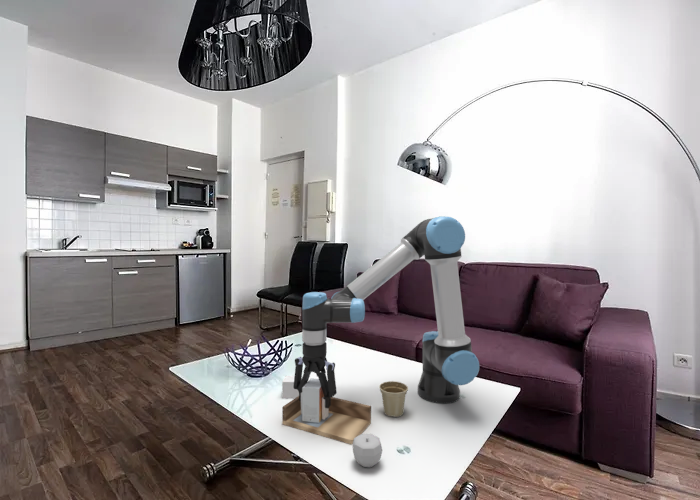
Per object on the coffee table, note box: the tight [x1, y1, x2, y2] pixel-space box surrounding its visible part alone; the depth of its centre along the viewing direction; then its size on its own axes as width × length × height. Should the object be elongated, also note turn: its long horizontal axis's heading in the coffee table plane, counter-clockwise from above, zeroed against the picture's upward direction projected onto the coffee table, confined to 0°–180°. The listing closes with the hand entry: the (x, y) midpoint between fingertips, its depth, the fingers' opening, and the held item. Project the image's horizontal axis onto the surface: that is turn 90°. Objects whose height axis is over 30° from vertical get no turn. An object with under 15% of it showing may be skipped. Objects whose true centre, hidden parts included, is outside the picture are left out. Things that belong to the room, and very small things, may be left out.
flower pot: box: [378, 380, 409, 418], centre depth 114 cm, size 9×9×9 cm
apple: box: [352, 433, 383, 468], centre depth 88 cm, size 8×8×7 cm
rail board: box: [281, 396, 372, 446], centre depth 107 cm, size 24×13×5 cm, turn 63°
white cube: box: [281, 375, 302, 399], centre depth 128 cm, size 6×6×6 cm
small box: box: [302, 377, 324, 423], centre depth 109 cm, size 8×6×10 cm
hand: (314, 414), depth 109 cm, fingers open, 7 cm apart
